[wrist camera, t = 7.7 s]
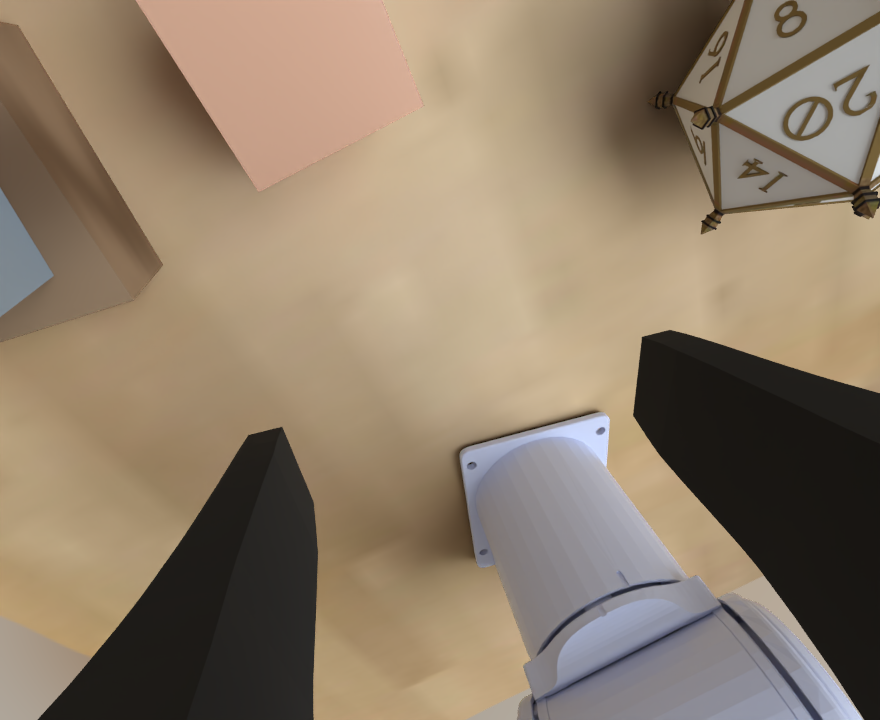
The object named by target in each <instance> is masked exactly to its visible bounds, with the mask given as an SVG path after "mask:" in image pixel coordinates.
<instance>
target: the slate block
mask: <svg viewBox="0 0 880 720" xmlns="http://www.w3.org/2000/svg"><path fill="white" fill-rule="evenodd" d="M53 276H54V275H53V273H52V271H51V270H50V268H49V267H48V265H47V263H46V262H45V260H44V258H43V257H42V255H41V253H40V252H39V250H38V249H37V247H36V245H35V244H34V242H33V240H32V239H31V237H30V235H29V234H28V232H27V231H26V229H25V227H24V226H23V224H22V222H21V221H20V219H19V217H18V216H17V214H16V213H15V211H14V209H13V208H12V206H11V204H10V203H9V201H8V199H7V198H6V196H5V195H4V193H3V191H2V190H1V188H0V317H1V316H2V315H4V314H5V313H6V312H7V311H9V310H10V309H11V308H13V307H14V306H15V305H17V304H18V303H19V302H20V301H22V300H23V299H24V298H26V297H27V296H28V295H30V294H31V293H32V292H33V291H35V290H36V289H37V288H39V287H40V286H41V285H43V284H44V283H45V282H46V281H48V280H49V279H50V278H52V277H53Z"/></svg>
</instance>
